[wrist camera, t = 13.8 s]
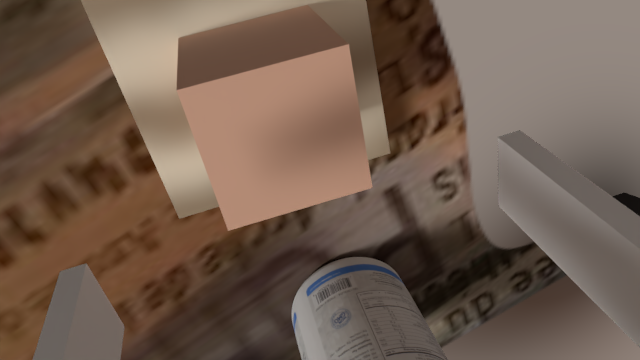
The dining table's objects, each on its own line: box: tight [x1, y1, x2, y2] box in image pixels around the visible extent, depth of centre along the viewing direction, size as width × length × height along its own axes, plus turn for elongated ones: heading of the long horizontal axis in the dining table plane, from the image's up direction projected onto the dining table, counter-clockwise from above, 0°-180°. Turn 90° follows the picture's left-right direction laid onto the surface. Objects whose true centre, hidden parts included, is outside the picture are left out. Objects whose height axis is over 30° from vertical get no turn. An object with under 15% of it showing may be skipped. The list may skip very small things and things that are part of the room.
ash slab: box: [81, 0, 390, 219], centre depth 30 cm, size 14×14×3 cm
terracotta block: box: [176, 5, 372, 231], centre depth 25 cm, size 7×7×8 cm
